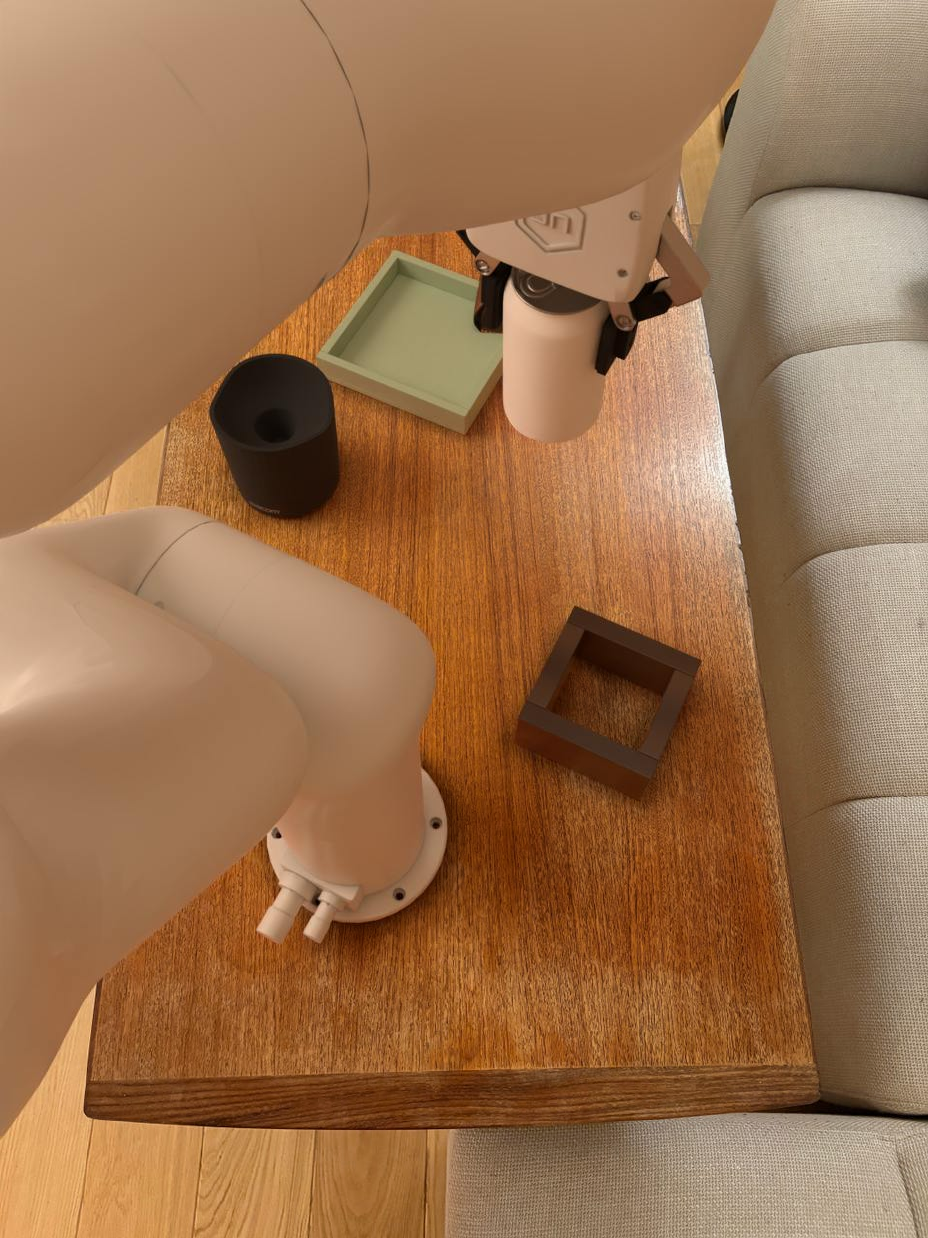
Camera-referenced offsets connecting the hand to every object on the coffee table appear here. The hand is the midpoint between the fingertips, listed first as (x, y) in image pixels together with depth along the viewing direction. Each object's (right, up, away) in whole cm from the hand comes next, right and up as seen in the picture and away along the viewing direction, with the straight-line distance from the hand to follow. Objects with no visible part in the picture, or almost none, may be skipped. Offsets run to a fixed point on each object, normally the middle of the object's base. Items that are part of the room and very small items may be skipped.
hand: (555, 333), depth 60 cm
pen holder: (-20, -5, +25) cm, 33 cm away
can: (0, -3, +7) cm, 7 cm away
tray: (-9, +8, +32) cm, 34 cm away
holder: (+5, -24, +16) cm, 29 cm away
